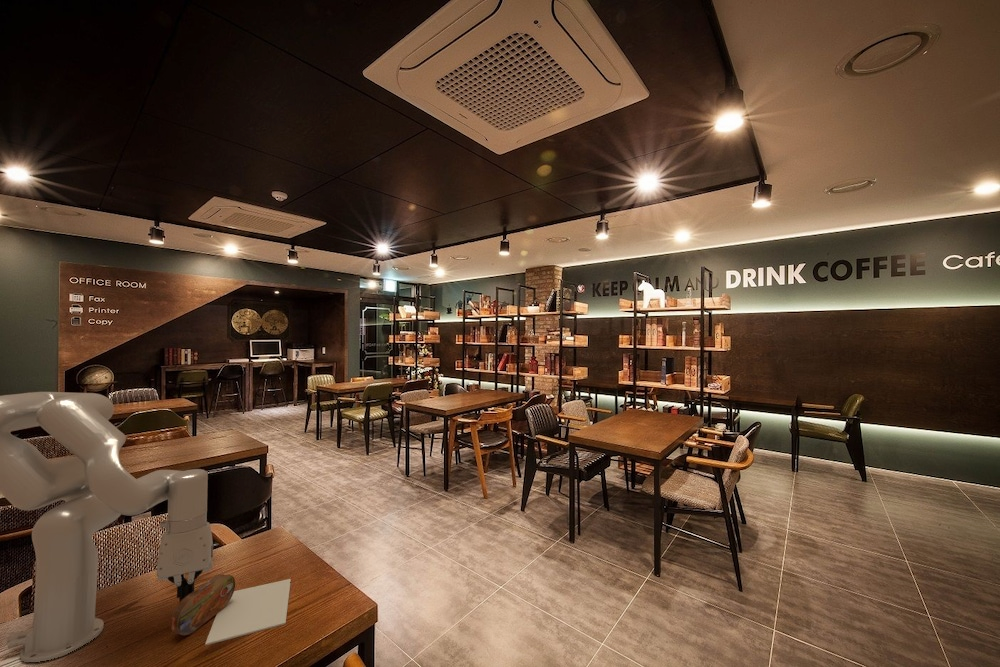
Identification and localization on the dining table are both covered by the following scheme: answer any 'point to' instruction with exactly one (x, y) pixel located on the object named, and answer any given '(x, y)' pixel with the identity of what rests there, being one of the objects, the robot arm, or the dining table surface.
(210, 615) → the tin
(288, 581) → the mat
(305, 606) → the dining table surface
